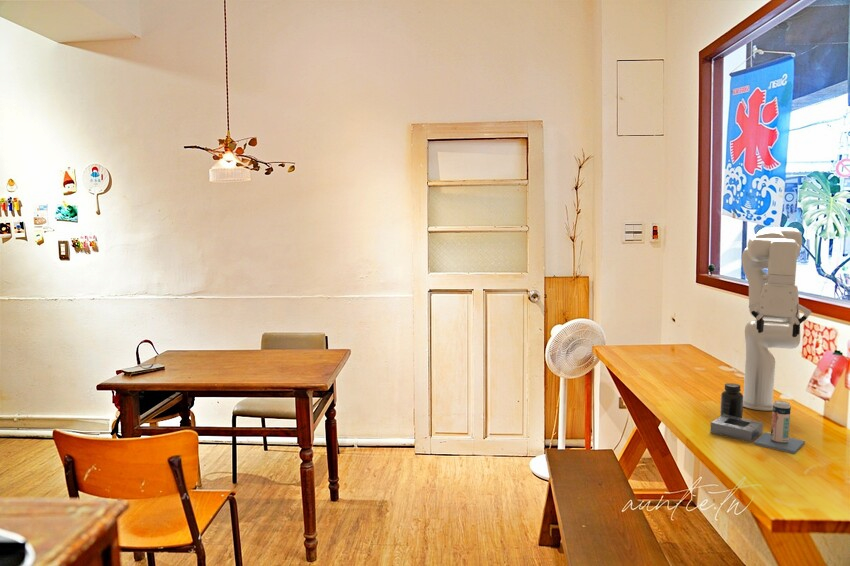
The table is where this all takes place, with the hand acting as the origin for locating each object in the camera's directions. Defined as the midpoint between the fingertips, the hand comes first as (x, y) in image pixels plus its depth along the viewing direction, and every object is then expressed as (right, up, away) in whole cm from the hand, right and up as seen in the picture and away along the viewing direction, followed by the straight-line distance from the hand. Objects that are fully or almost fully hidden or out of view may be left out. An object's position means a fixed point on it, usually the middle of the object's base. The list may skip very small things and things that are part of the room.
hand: (777, 334), depth 195 cm
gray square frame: (-11, -32, +4) cm, 34 cm away
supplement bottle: (-6, -31, +18) cm, 36 cm away
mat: (-2, -33, -5) cm, 33 cm away
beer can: (-2, -32, -5) cm, 33 cm away
